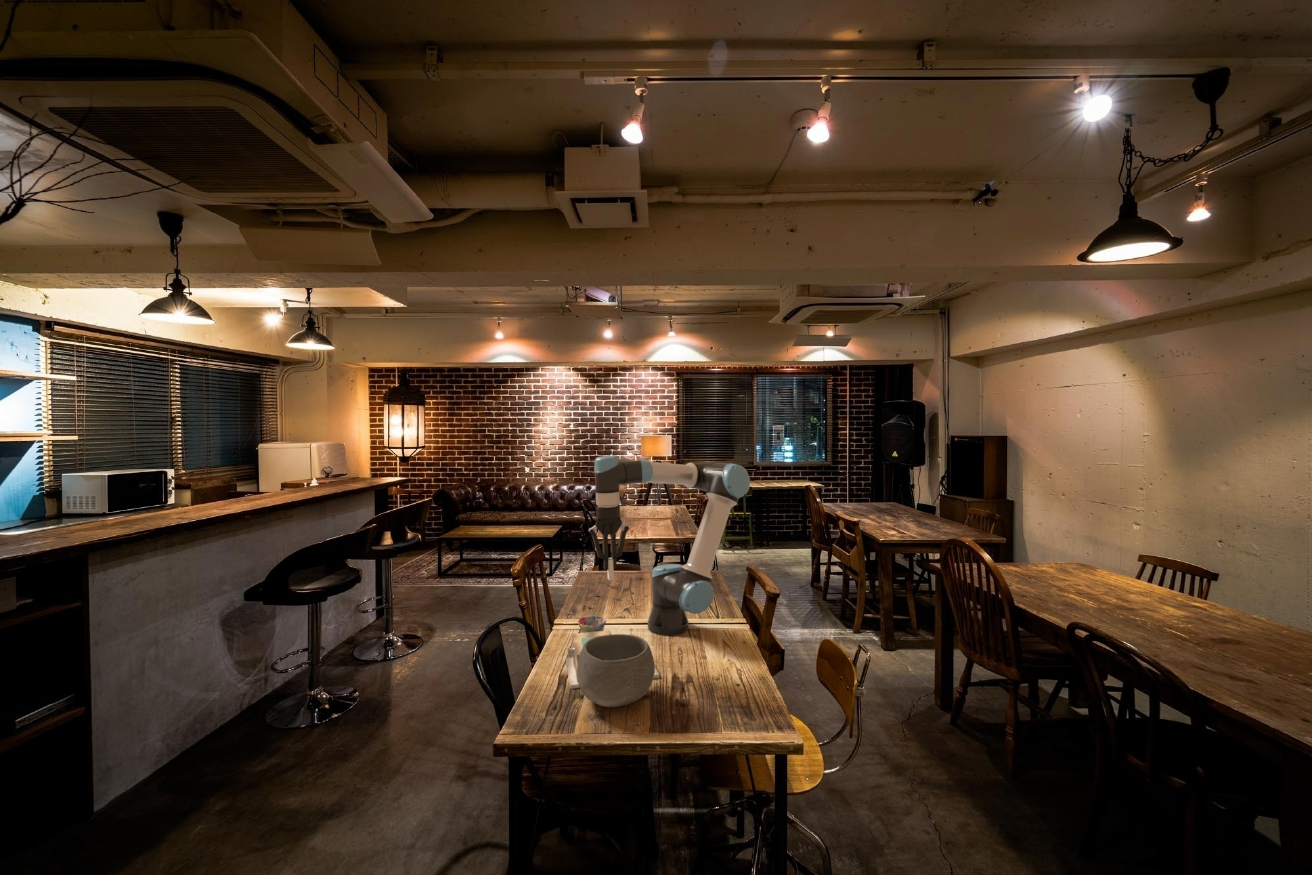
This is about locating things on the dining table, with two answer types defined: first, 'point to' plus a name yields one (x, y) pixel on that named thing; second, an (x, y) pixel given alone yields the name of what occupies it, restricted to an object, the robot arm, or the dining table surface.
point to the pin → (570, 652)
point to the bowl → (615, 669)
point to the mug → (591, 623)
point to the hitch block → (578, 647)
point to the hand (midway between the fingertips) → (610, 579)
